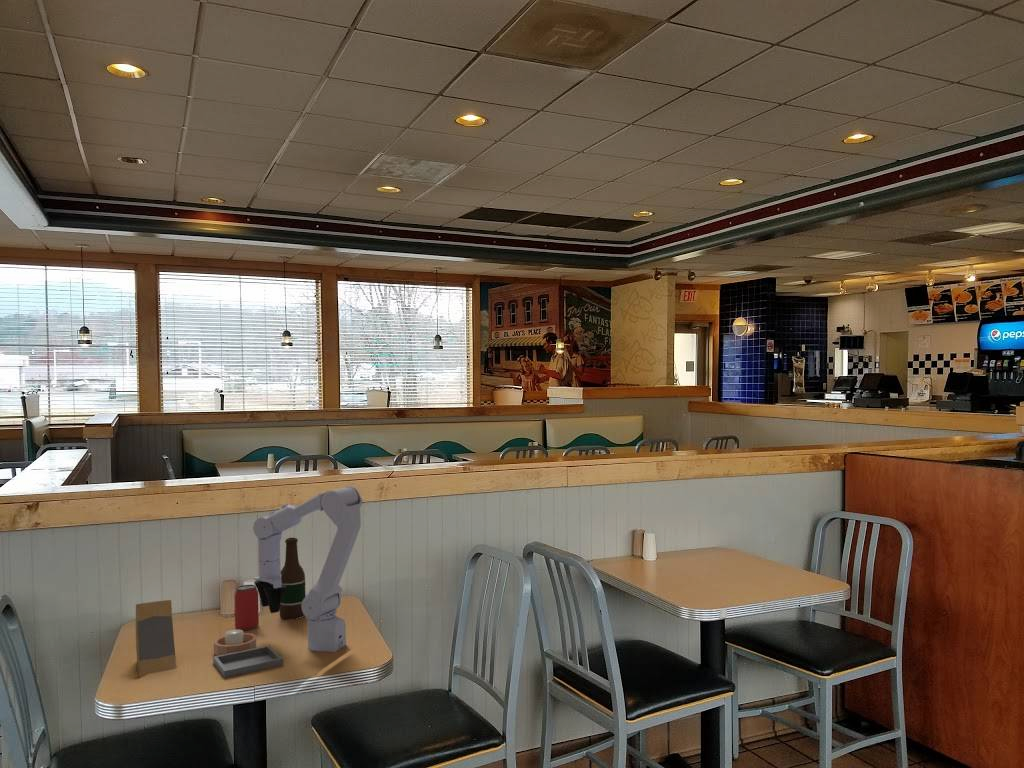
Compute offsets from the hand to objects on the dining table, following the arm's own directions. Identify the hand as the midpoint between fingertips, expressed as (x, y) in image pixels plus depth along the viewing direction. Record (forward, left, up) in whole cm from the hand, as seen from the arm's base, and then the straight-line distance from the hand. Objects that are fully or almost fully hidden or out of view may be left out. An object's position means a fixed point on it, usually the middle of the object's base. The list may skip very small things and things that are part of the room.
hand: (270, 609), depth 205 cm
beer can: (+15, -10, -10) cm, 21 cm away
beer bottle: (+8, -23, -10) cm, 26 cm away
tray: (-5, +18, -9) cm, 21 cm away
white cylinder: (+4, +10, -9) cm, 14 cm away
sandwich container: (+18, +23, -10) cm, 30 cm away
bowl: (+4, +10, -9) cm, 14 cm away
